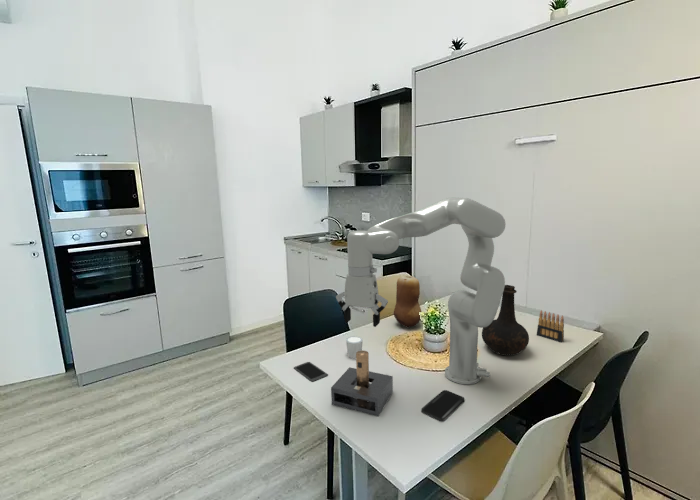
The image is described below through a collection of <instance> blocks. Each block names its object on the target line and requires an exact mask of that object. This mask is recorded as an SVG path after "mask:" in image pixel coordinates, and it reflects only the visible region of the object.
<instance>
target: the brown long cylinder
mask: <svg viewBox="0 0 700 500" xmlns="http://www.w3.org/2000/svg"><path fill="white" fill-rule="evenodd" d="M355 360H356V361H355V362H356V363H355V364H356V366H355V367H356V368H355V369H356V370H357V386H359V387H364V388H368V387H369V383H370V382H369V371H370V365H369V364H370V363H369V362H370V361H369V360H370V359H369V352H368V351H367V350H364V349H362V350H361V351H358V352H356V359H355ZM356 399H359V398H356ZM361 400H363V399H361ZM365 401H367V400H365Z"/></svg>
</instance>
